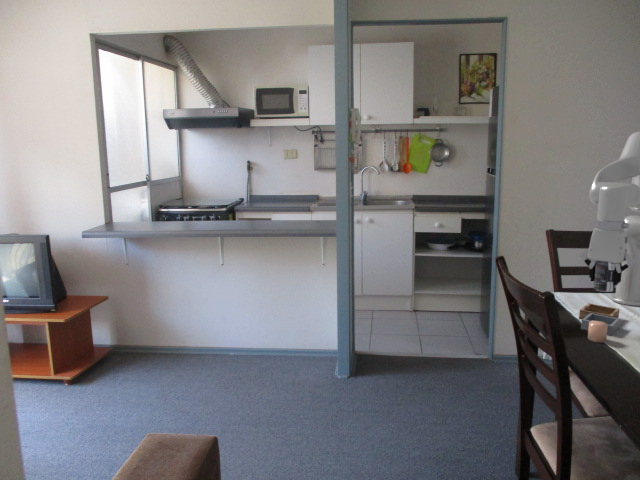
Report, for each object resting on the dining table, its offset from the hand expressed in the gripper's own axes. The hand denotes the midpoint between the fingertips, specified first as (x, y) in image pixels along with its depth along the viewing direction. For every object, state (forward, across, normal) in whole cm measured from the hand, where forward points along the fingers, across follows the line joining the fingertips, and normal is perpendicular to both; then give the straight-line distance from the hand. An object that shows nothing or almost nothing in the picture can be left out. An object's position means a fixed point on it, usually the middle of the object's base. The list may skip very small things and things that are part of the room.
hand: (604, 281), depth 169 cm
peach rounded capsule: (+15, -2, +11) cm, 19 cm away
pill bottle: (+3, 0, 0) cm, 3 cm away
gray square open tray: (+15, 0, 0) cm, 15 cm away
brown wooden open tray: (+15, +3, -9) cm, 18 cm away
